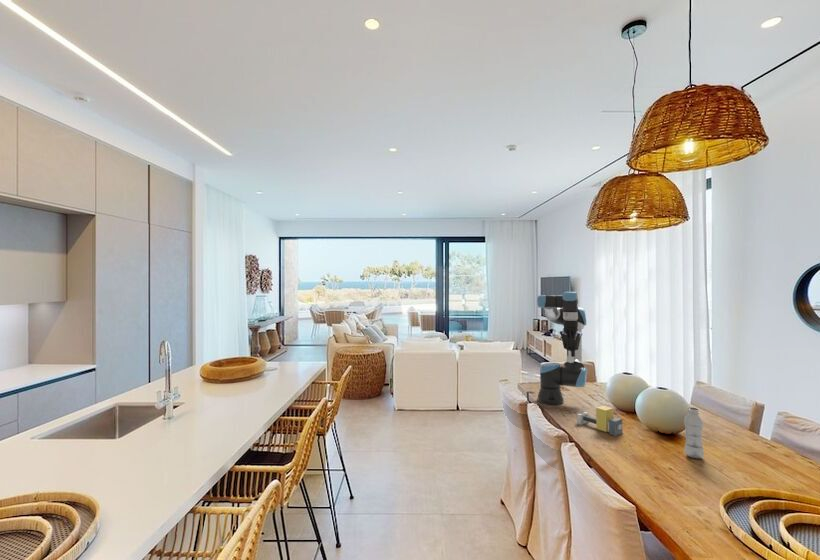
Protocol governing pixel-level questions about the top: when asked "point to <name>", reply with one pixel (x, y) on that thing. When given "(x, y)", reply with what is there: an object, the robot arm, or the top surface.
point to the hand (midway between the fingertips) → (571, 362)
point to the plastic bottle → (693, 434)
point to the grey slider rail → (613, 423)
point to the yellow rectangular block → (603, 417)
